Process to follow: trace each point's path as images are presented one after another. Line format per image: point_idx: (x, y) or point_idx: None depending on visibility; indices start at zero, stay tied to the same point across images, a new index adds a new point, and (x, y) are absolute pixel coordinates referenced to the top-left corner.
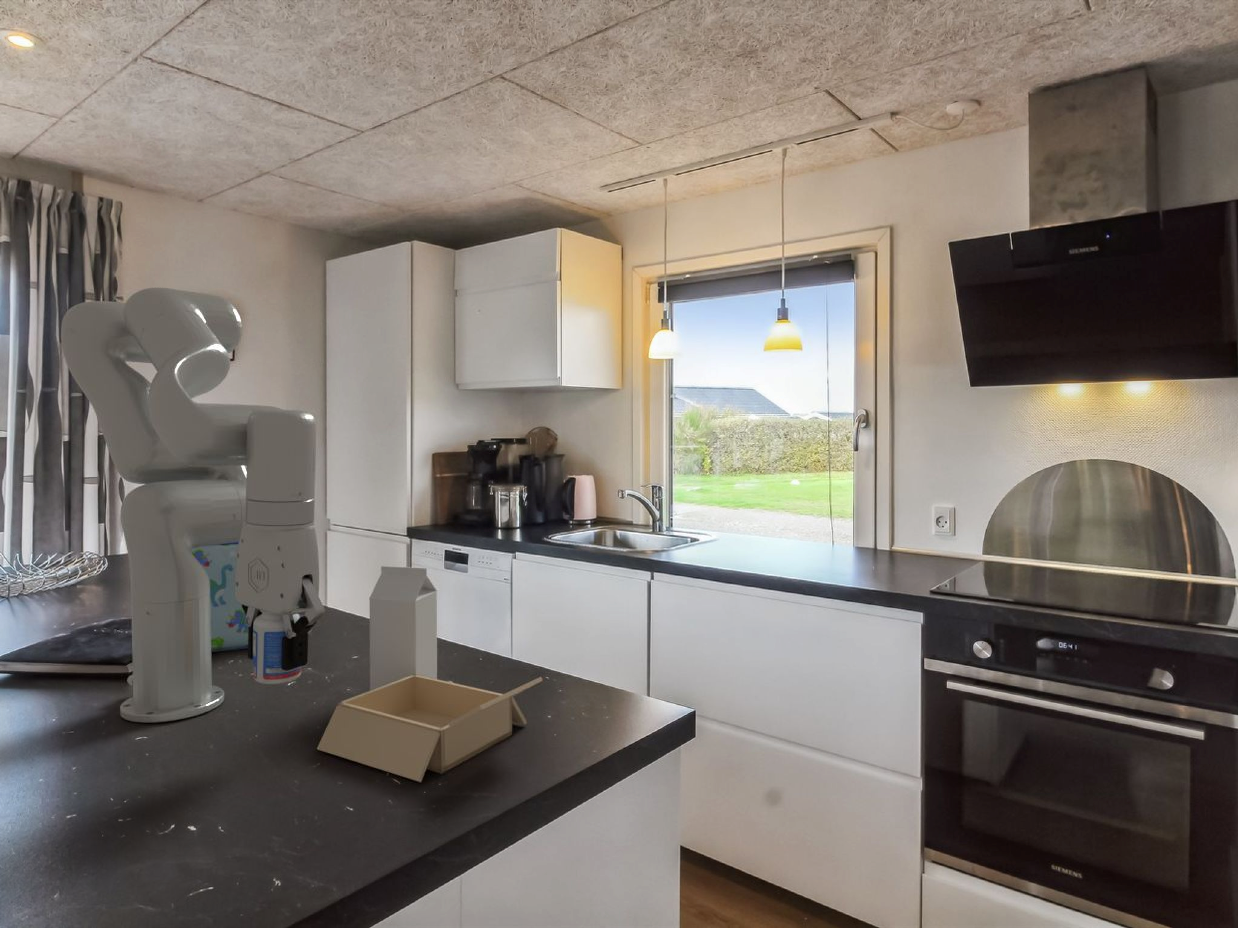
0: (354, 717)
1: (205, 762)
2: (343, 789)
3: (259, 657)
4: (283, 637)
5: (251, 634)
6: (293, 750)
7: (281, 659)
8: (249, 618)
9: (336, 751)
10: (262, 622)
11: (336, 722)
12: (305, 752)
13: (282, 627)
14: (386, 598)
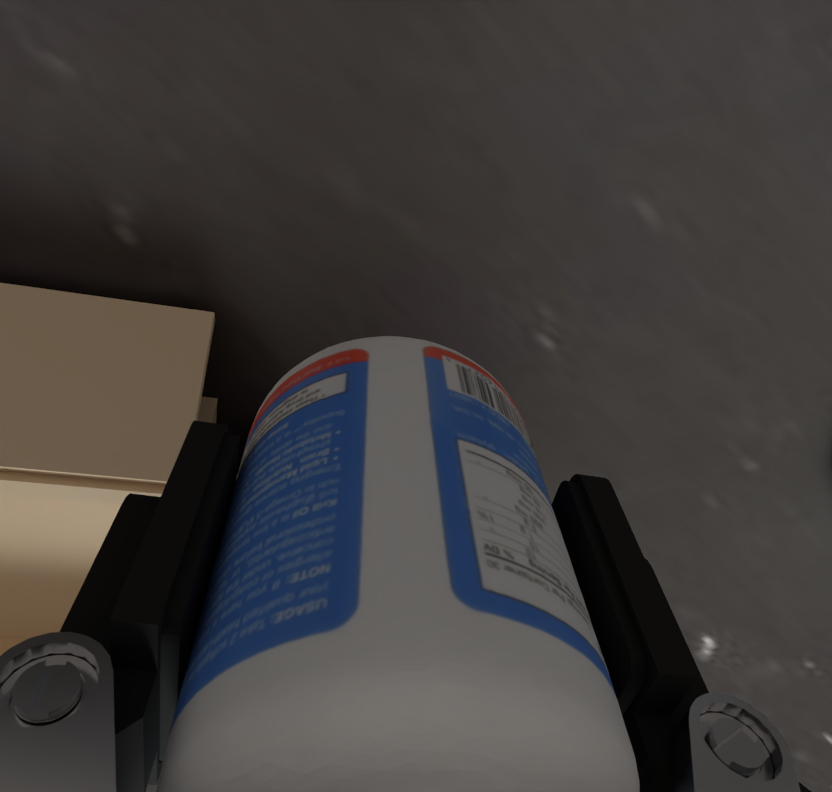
0: (50, 439)
1: (567, 77)
2: None
3: (404, 430)
4: (146, 626)
5: (632, 619)
6: (317, 292)
7: (226, 473)
8: (748, 773)
9: (100, 307)
10: (407, 730)
11: (152, 411)
12: (260, 294)
13: (182, 738)
14: None
